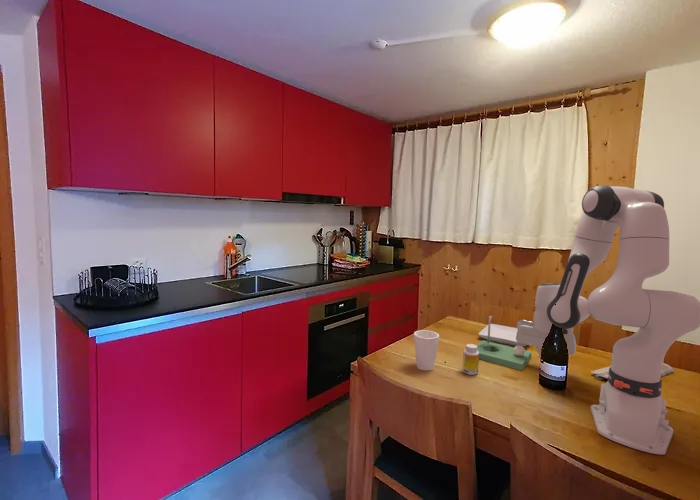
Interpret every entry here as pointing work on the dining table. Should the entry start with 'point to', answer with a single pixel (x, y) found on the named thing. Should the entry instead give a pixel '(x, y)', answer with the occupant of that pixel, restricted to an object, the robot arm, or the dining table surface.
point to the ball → (519, 350)
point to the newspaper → (603, 372)
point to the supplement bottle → (470, 359)
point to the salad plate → (501, 334)
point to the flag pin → (489, 328)
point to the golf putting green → (502, 355)
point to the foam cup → (426, 348)
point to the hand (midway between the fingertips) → (543, 358)
